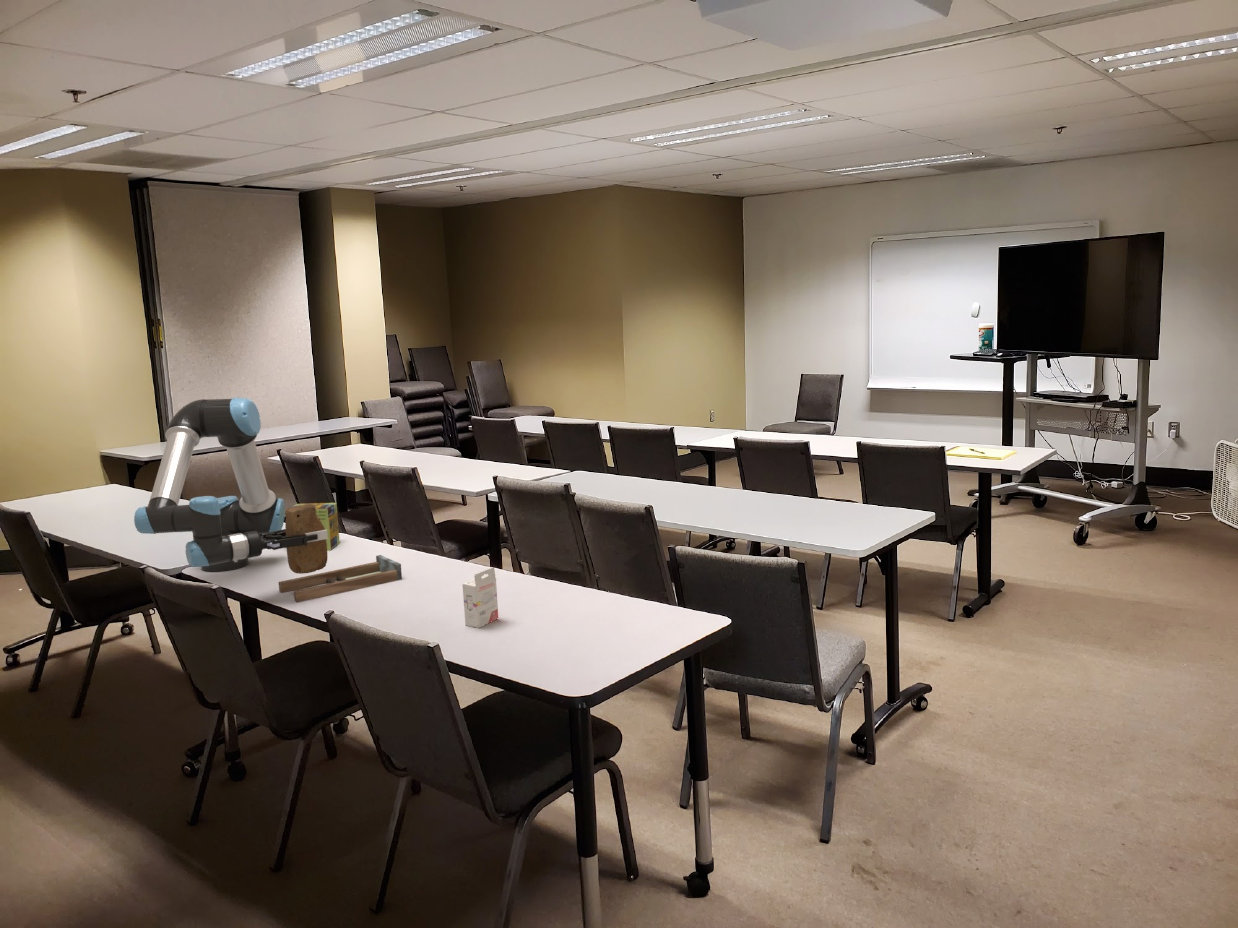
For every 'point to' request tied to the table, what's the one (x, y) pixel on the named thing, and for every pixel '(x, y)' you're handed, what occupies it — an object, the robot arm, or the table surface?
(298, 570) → the block
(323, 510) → the protein box
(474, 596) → the ink cartridge box
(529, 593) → the table surface
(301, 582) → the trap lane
